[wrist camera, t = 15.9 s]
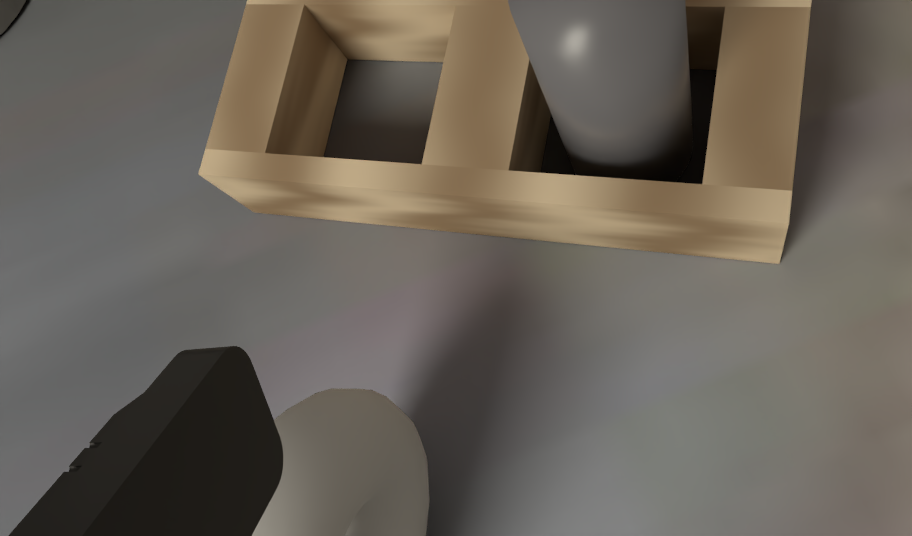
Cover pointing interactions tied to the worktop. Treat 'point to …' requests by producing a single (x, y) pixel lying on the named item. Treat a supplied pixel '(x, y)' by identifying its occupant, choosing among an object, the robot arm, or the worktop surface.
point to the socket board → (506, 129)
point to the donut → (348, 469)
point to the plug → (614, 82)
